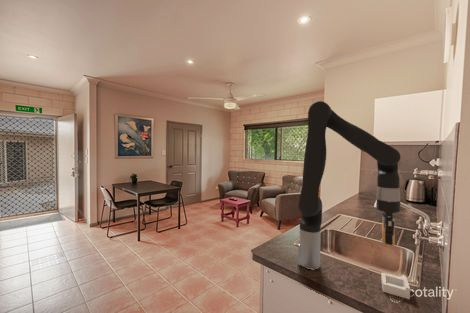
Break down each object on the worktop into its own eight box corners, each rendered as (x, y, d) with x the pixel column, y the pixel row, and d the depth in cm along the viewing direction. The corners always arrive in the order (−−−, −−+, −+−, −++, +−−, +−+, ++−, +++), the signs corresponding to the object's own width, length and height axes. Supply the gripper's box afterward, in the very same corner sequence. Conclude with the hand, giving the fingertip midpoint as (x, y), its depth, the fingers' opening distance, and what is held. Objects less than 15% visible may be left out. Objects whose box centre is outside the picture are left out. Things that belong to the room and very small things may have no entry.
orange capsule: (382, 245, 82) (382, 225, 82) (381, 242, 85) (381, 222, 85) (395, 248, 80) (395, 227, 80) (394, 244, 83) (393, 224, 83)
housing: (382, 291, 80) (383, 281, 80) (381, 279, 88) (381, 269, 88) (409, 299, 76) (410, 288, 76) (405, 285, 84) (405, 275, 84)
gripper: (375, 194, 90) (375, 234, 91) (377, 201, 78) (377, 247, 79) (397, 196, 86) (397, 237, 87) (403, 203, 74) (403, 251, 75)
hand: (388, 241), depth 83 cm, fingers closed on orange capsule, 4 cm apart
